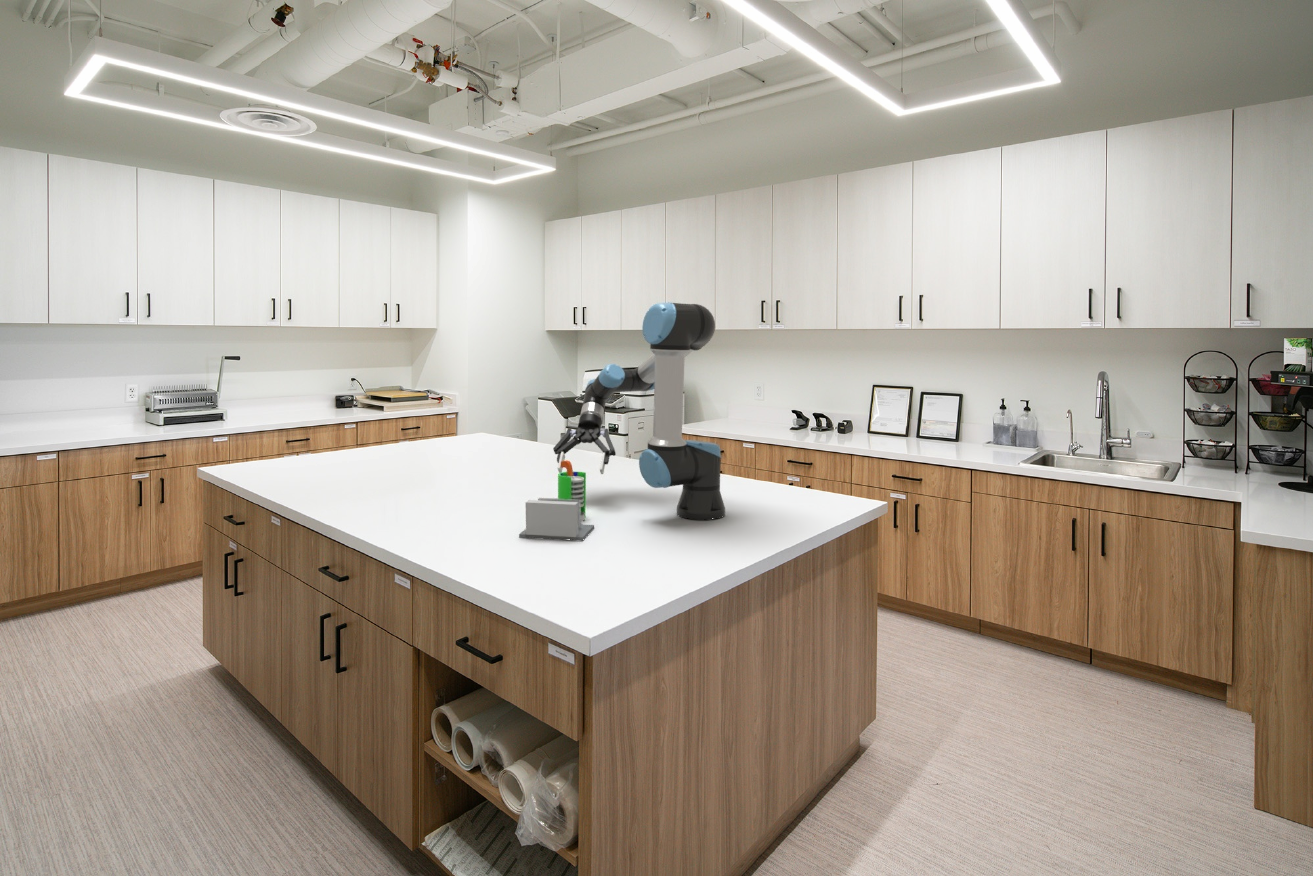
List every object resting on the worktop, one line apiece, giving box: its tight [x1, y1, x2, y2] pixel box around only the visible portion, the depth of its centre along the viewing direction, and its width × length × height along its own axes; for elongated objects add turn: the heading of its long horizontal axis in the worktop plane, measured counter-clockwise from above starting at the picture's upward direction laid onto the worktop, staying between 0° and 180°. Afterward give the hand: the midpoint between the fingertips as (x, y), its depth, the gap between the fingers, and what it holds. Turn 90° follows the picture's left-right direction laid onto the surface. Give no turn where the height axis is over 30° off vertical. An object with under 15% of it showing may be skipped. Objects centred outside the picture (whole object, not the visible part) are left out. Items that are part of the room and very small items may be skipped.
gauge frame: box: [518, 499, 595, 542], centre depth 197 cm, size 18×13×10 cm
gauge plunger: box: [537, 497, 582, 528], centre depth 198 cm, size 15×4×8 cm, turn 82°
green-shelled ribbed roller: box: [557, 460, 587, 523], centre depth 211 cm, size 9×8×18 cm
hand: (580, 471), depth 222 cm, fingers open, 13 cm apart
